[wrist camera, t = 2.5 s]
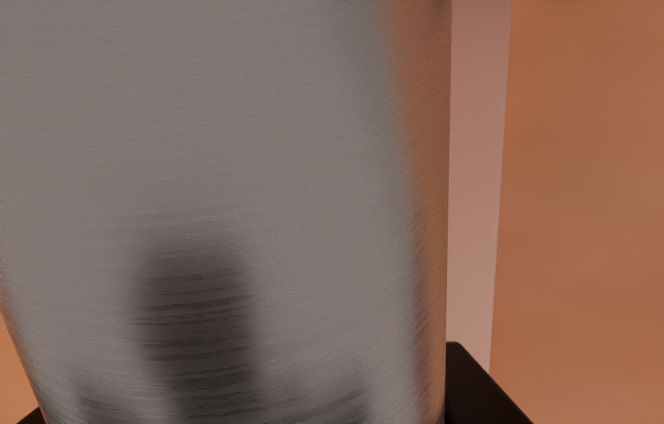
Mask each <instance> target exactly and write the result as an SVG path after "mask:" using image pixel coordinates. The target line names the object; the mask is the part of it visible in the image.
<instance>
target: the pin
mask: <svg viewBox="0 0 664 424" xmlns="http://www.w3.org/2000/svg"><path fill="white" fill-rule="evenodd" d="M451 37H452V0H0V312H1V314H2V317H3V319H4V322H5V324H6V326H7V329H8V331H9V334H10V336H11V339H12V341H13V344H14V346H15V349H16V351H17V353H18V356H19V358H20V361H21V363H22V366H23V368H24V371H25V373H26V376H27V378H28V380H29V383H30V385H31V388H32V390H33V393H34V395H35V398H36V400H37V402H38V405H39V407H40V410H41V412H42V415H43V417H44V420H45V422H46V424H444V420H445V366H446V311H447V256H448V202H449V147H450V92H451Z"/></svg>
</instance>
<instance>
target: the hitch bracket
mask: <svg viewBox="0 0 664 424" xmlns="http://www.w3.org/2000/svg"><path fill="white" fill-rule="evenodd" d="M511 14H512V0H452V37H451V92H450V147H449V202H448V256H447V311H446V341H456V342H459V343H460V344H461V345H462V346H463V347H464V348H465V349H466V350H467V351H468V352H469V353H470V354H471V356H472V357H473V358H474V359H475V360H476V361H477V362H478V363H479V364H480V365H481V367H482V368H483V369H484V370H485V371H486V372H487V373H488V374H489V365H490V349H491V333H492V317H493V301H494V285H495V269H496V253H497V238H498V222H499V206H500V190H501V174H502V158H503V142H504V126H505V110H506V94H507V78H508V62H509V46H510V30H511Z"/></svg>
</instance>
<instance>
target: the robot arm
mask: <svg viewBox="0 0 664 424" xmlns="http://www.w3.org/2000/svg"><path fill="white" fill-rule="evenodd" d="M17 424H46V422H45V420H44V417H43V415H42V412H41V410H40V407H39V406H38V407H37V408H36V409H35V410H33V411H32V412H31V413H29V414H28V415H27V416H26V417H24V418H23V419H22V420H20V421H19V422H18V423H17ZM444 424H533V423H532V421H531V420H530V419H529V418H528V417H527V416H526V415H525V414H524V413H523V412H522V410H521V409H520V408H519V407H518V406H517V405H516V404H515V403H514V402H513V401H512V399H511V398H510V397H509V396H508V395H507V394H506V393H505V392H504V391H503V390H502V389H501V387H500V386H499V385H498V384H497V383H496V382H495V381H494V380H493V379H492V378H491V376H490V375H489V374H488V373H487V372H486V371H485V370H484V369H483V368H482V367H481V365H480V364H479V363H478V362H477V361H476V360H475V359H474V358H473V357H472V356H471V354H470V353H469V352H468V351H467V350H466V349H465V348H464V347H463V346H462V345H461V344H460V343H459V342H456V341H446V366H445V420H444Z"/></svg>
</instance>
